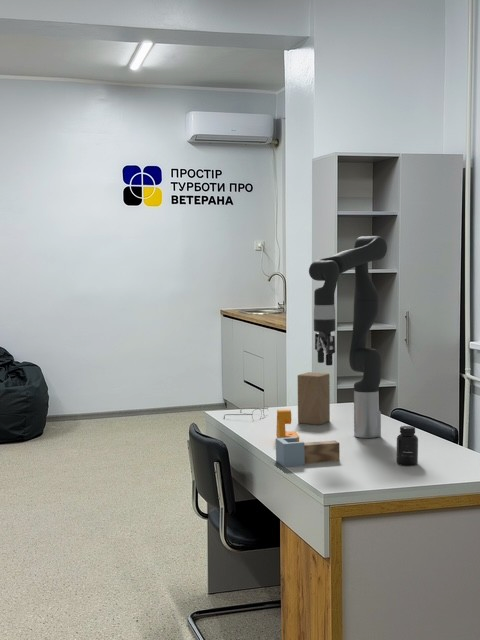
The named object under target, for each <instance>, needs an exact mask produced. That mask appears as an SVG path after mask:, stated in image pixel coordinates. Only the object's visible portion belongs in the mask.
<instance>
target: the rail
mask: <svg viewBox="0 0 480 640" xmlns="http://www.w3.org/2000/svg"><path fill="white" fill-rule="evenodd" d="M340 453H341V452H340V442H338V441H337V440H325V441H322V440H321V441H310V442H309V441H308V442H306V441H305V442H304V456H305V464H315V463H318V464H319V463H330V462H331V463H332V462H340V457H341V456H340Z"/></svg>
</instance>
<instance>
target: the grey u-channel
mask: <svg viewBox="0 0 480 640" xmlns="http://www.w3.org/2000/svg"><path fill="white" fill-rule="evenodd" d="M304 443H305V442H304V441H299V442H297V437H288V438H277V437H276V438H275V461H276V462H277V463H278V464H280V465H281V466H282V467H284V468H286V467H287V468H289V467H302V466H305V465H306V463H305V456H304Z"/></svg>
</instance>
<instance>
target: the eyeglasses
mask: <svg viewBox="0 0 480 640" xmlns="http://www.w3.org/2000/svg"><path fill="white" fill-rule="evenodd" d="M242 410H254V411H256V410H260V411H262V413H263V417H266V415H265V410H269V406H268V405H265V406H264V407H252V408H251V407H248V408H247V407H246V408H245V407H242V408H240V411H239V413H236V414H235V413H229V414H228V413H225V414H224V415H223V419H226V417H225V416H251V418H252V420H253V422H255V419H254V417H253V413H254V411H252V412H251V413H245V414H244V413H243V414H242ZM259 419H262V417H260V418H259Z"/></svg>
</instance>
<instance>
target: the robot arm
mask: <svg viewBox="0 0 480 640" xmlns="http://www.w3.org/2000/svg"><path fill="white" fill-rule="evenodd" d="M387 251H388V246H387V242H386V240H385V239H384V238H383V237H382V236H379V235H371V236H370V235H368V236H363V235H362V236H359V237H357V238H356V240H355V243H354V248H351V249H347V250H343V251H340V252H337V253H336V254H334V255H332V256H328V257H325V258H319V259H316V260H314V261H313V262H312V263H311V264H310V265H309V268H308V274H309V277H310V278H311V279H313V280H314V281H317V282H318V281H319V282H322V281H323V282H324V283H323V285H322V286H321V287H317V288H315V290H314V296H313V297H314V300H313V303H314V307H313V331H314V332H315V333H314V350H316V352H317V363H319V364H323V363H325V366H333V355H334V354H335V353H336V337H335V335H332V333H331V332H335V331H336V307H335V303H336V302H335V293H336V287H337V285H338V282H339V281H338V280H339V276H340V275H341V274H344V273H345V272H347V271H349V270H352V269H354V295H353V318H352V319H353V321H352V333H351V334H352V335H351V342H350V346H349V347H350V350H349V357H348V358H349V359H348V362H349V367H350V368H351V370H352V371H353V372H357V373H363V376H362V379H361V380H359V381H356V382H354V384H353V426H354V427H353V436H355V437H356V438H361V439H373V438H378V437H381V436H382V412H381V410H380V406H379V405H380V403H379V401H380V399H379V394H380V393H379V391H380V390H379V388H380V384H381V380H382V379H381V377H382V376H381V375H382V357H381V356H382V355H381V354H380V352H379V351H378V349H376V348H367V338H368V334H369V332H370V330H371V328H372V327H373V325H374V323H375V322H376V319H377V317H378V314H379V306H380V305H379V304H380V303H379V300H380V296H379V293H378V291H377V288H376V286H375V285H374V283H373V281H372V278H371V275H370V272H369V263H370V262H375V261H376V262H377V261H381V260H383V259H384V258H385V256H386V254H387V253H388V252H387Z"/></svg>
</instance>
